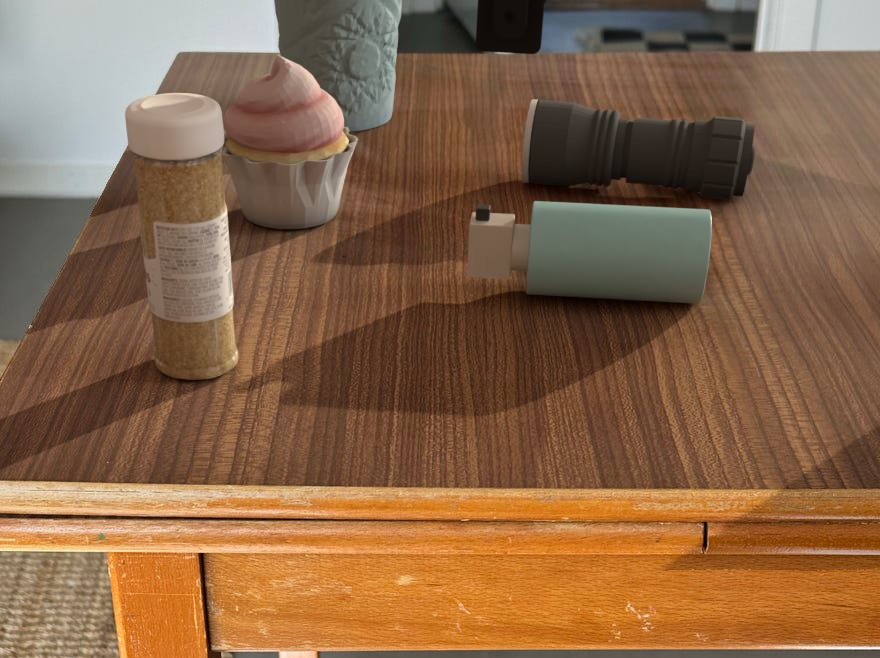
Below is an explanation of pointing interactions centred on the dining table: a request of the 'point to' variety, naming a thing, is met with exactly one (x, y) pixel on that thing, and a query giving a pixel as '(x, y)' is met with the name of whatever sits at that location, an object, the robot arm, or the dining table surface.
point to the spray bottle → (596, 250)
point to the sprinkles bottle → (184, 232)
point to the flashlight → (635, 150)
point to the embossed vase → (345, 52)
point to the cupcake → (287, 149)
